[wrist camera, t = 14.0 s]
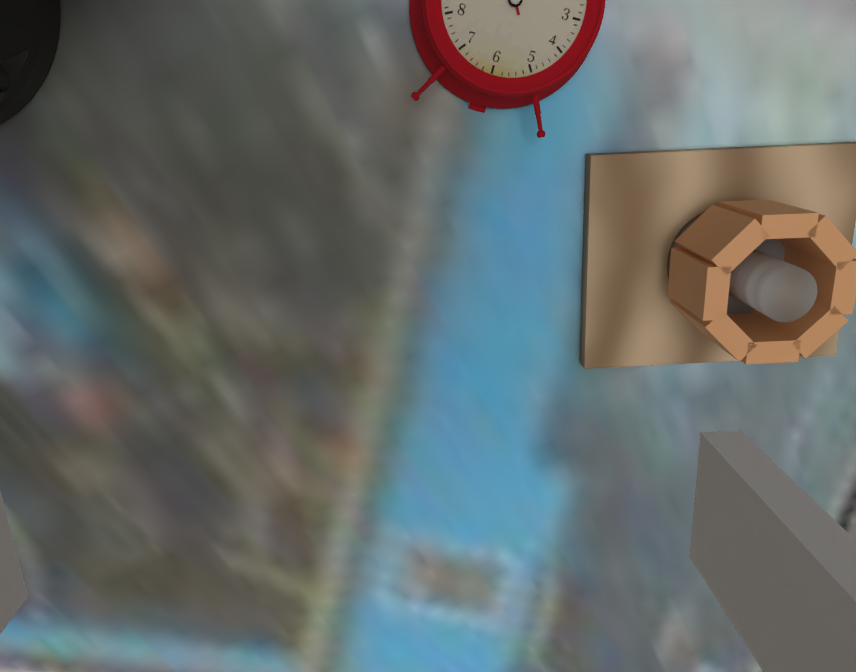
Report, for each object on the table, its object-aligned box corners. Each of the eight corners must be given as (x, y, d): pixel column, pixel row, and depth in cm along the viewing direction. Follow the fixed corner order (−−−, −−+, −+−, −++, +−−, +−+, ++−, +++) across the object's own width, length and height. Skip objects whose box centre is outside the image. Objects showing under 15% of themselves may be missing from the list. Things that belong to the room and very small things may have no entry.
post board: (579, 362, 46) (622, 423, 37) (585, 154, 42) (635, 168, 33) (824, 349, 46) (924, 406, 37) (854, 141, 42) (973, 152, 33)
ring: (664, 336, 42) (698, 366, 37) (674, 203, 40) (712, 217, 35) (794, 330, 42) (844, 359, 37) (812, 197, 40) (868, 210, 35)
